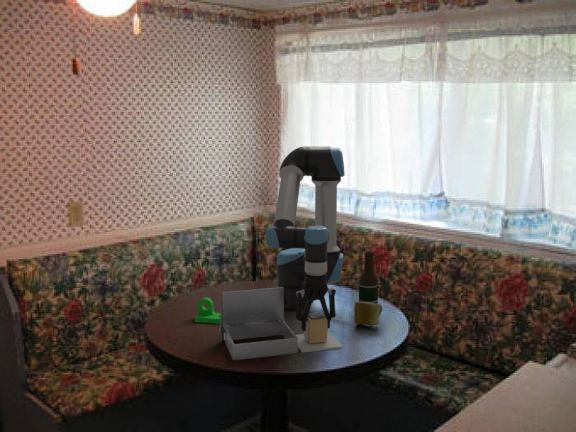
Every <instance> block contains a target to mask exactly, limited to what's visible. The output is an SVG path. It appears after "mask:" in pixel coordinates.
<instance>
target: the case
mask: <svg viewBox="0 0 576 432" xmlns="http://www.w3.org/2000/svg"><path fill="white" fill-rule="evenodd" d="M219 308H220V309H219V311H220V318H221V323H220V326H218V327H219V328H218V329H219V333H220V342H221V343H225V345H226V348H227V350H228V352H229V354H230V357H231V359H232V361H239V360H248V359H256V358H265V357H274V356H283V355H292V354H298V353H299V348H298V338H297V337H296V335H297V334H295V333H294V331H293V330H292V329H291V328H290V326H289V325H288V324H287V322H286V321H285V311H284V287H277V286H276V287H265V288H257V289H256V288H255V289H253V288H252V289H247V290H246V289H244V290H241V289H240V290H233V291H231V290H229V291H222V301H220V302H219ZM272 336H273V337H274V336H282V337H284V338H282V339H272V340H263V341H262V340H261V341H254V342H253V341H252V342H244V343H234V341H236V340H243V339H244V340H245V339H255V338H256V339H257V338H262V337H272Z"/></svg>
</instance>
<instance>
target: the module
mask: <svg viewBox="0 0 576 432" xmlns="http://www.w3.org/2000/svg"><path fill="white" fill-rule="evenodd" d="M307 321H308V342H309V343H319V342H327V331H328V329H327V318H326V317H325V315H324V313H322V312H311V313H310V312H309V314H308V317H307Z"/></svg>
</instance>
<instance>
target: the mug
mask: <svg viewBox="0 0 576 432" xmlns="http://www.w3.org/2000/svg"><path fill="white" fill-rule="evenodd" d="M353 309H354V315H353V316H354V323H355V325H365V326H370V327H373V326H378V325H379V317H380V316H381V314H382V312H383V306H382V304H381V303H378V304H376V303H375V304H373V303H367V302H359V301H355V302H354V308H353Z"/></svg>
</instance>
